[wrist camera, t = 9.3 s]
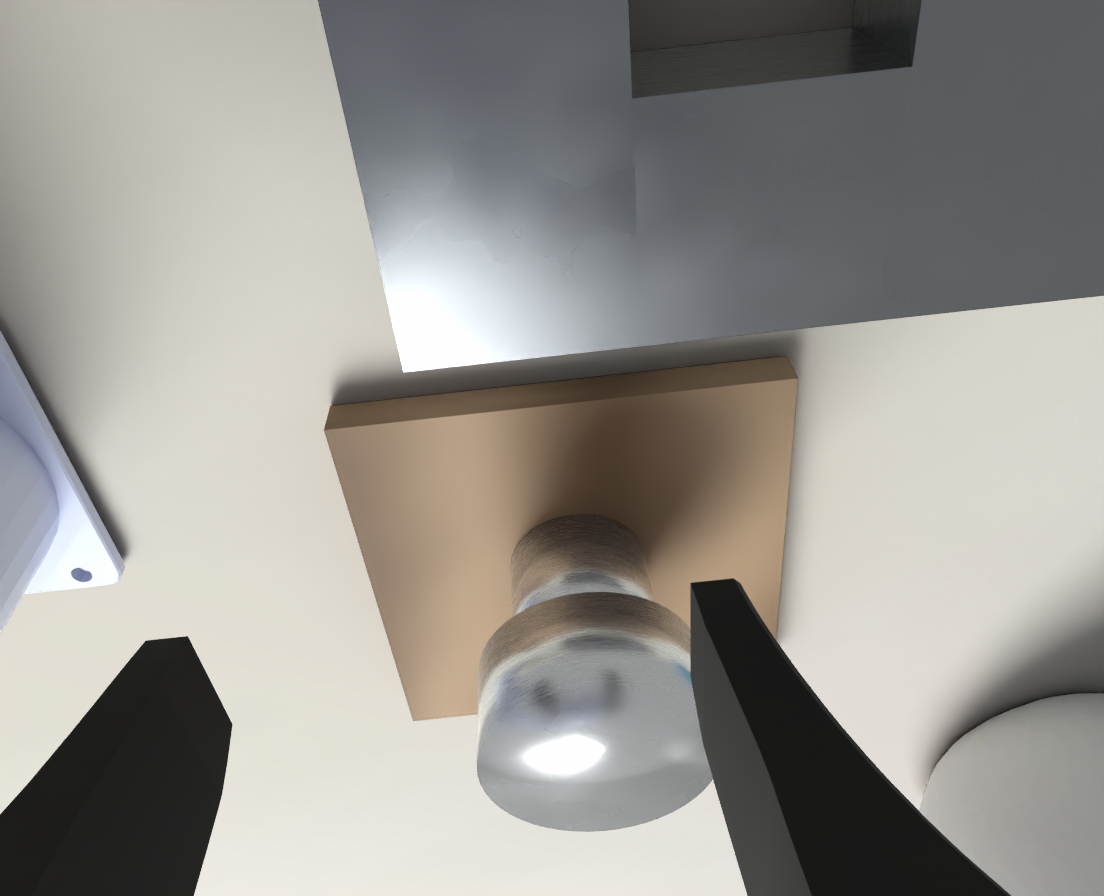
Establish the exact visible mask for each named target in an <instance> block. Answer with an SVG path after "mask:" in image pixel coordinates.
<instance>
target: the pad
mask: <svg viewBox="0 0 1104 896" xmlns="http://www.w3.org/2000/svg"><path fill="white" fill-rule="evenodd" d="M797 385H798V377H797V375H796V373H795V372H794V370H793V368H792V366H791V364H790V362H789V360H788V358H787V356H783V357H773V358H764V359H755V360H746V361H737V362H728V363H719V364H710V365H700V366H691V367H682V368H673V369H664V370H655V371H646V372H637V373H627V374H618V375H609V376H600V377H591V378H582V379H573V380H564V381H554V382H545V383H536V384H527V385H518V386H509V387H500V388H491V389H481V390H472V391H463V392H454V393H445V394H436V395H427V396H418V397H408V398H399V399H390V400H381V401H372V402H363V403H354V404H345V405H335V406H330V409H329V413H328V417H327V421H326V425H325V429H324V432H325V435H326V438H327V441H328V445H329V448H330V451H331V454H332V458H333V461H334V464H335V467H336V471H337V474H338V477H339V481H340V484H341V487H342V490H343V494H344V497H345V500H346V503H347V507H348V510H349V513H350V516H351V520H352V523H353V526H354V529H355V533H356V536H357V539H358V543H359V546H360V549H361V552H362V556H363V559H364V562H365V565H366V569H367V572H368V575H369V578H370V582H371V585H372V588H373V591H374V595H375V598H376V601H377V605H378V608H379V611H380V614H381V618H382V621H383V624H384V627H385V631H386V634H387V637H388V640H389V644H390V647H391V650H392V653H393V657H394V660H395V663H396V667H397V670H398V673H399V676H400V680H401V683H402V686H403V689H404V693H405V696H406V699H407V702H408V706H409V709H410V712H411V715H412V719H413V721H418V720H427V719H437V718H446V717H456V716H465V715H475V714H478V668H479V661H480V657H481V654H482V651H483V649H484V647H485V646H486V644H487V642H488V640H489V639H490V638H491V637H492V635H493V634H494V633H495V632H496V631H497V630H498V629H499V628H500V627H501V626H502V625H503V624H504V623H505V622H506V621H508V620H509V619H510V618H512V616H511V575H510V563H511V557H512V554H513V551H514V549H515V547H516V546H517V544H518V543H519V541H520V540H521V539H522V538H523V537H524V536H525V535H526V534H527V533H528V532H529V531H531V530H532V529H533V528H535V527H536V526H538V525H540V524H542V523H544V522H546V521H548V520H551V519H554V518H557V517H561V516H565V515H572V514H594V515H599V516H604V517H607V518H611V519H613V520H616V521H618V522H620V523H622V524H623V525H625V526H626V527H628V528H629V529H630V530H632V531H633V532H634V533H635V535H636V536H637V537H638V538H639V540H640V541H641V543H642V546H643V548H644V552H645V556H646V561H647V566H648V571H649V576H650V581H651V586H652V591H653V596H654V601H655V602H656V603H658V604H660V605H662V606H664V607H666V608H667V609H669V610H671V611H672V612H673V613H675V614H676V615H678V616H679V617H680V618H681V619H682V620H683V621H684V622H685V623H686V624H687V625H688V626H689V628H690V583H693V582H703V581H712V580H721V579H731V578H734V579H735V580H737V581H738V582H739V583H741V585H742V587H743V589H744V590H745V592H746V594H747V596H748V597H749V599H750V601H751V602H752V604H753V606H754V607H755V609H756V611H757V612H758V614H759V615H760V617H761V619H762V620H763V622H764V623H765V625H766V626H767V628H768V629H769V631H770V632H771V634H772V635H773V637H774V638H775V640H776V632H777V620H778V608H779V596H780V585H781V573H782V561H783V549H784V538H785V526H786V514H787V502H788V491H789V479H790V467H791V455H792V444H793V432H794V420H795V408H796V396H797Z"/></svg>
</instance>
